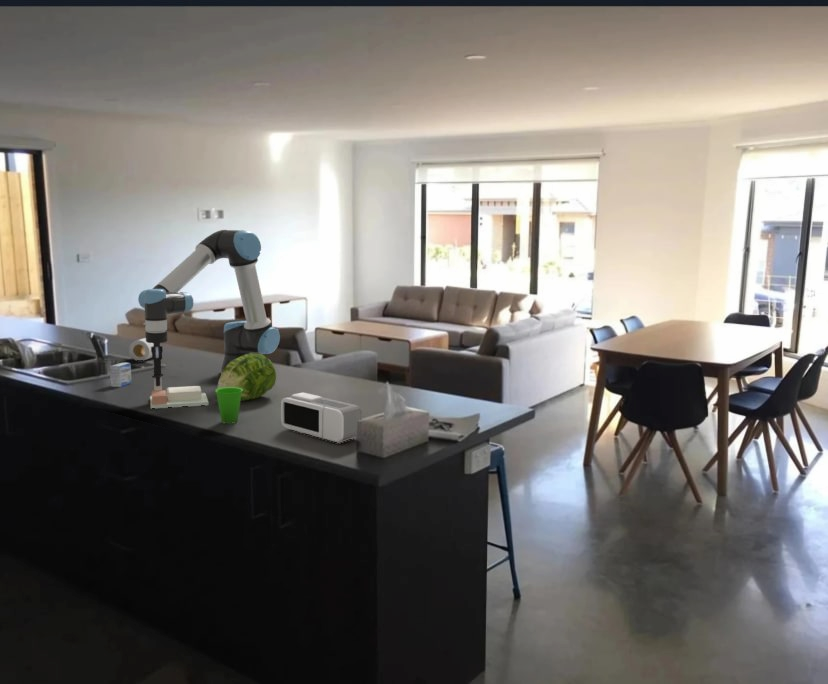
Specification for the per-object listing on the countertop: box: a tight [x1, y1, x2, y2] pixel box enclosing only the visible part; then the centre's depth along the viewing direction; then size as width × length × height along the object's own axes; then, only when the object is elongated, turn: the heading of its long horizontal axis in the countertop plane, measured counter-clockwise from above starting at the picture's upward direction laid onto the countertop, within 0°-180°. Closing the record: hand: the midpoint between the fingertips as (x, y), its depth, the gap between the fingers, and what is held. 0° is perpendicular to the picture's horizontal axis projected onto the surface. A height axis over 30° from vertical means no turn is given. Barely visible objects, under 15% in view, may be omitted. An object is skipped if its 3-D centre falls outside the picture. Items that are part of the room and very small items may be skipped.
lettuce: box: [217, 352, 277, 402], centre depth 277 cm, size 17×23×17 cm
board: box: [149, 392, 209, 409], centre depth 272 cm, size 20×15×1 cm
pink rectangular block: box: [151, 389, 167, 405], centre depth 267 cm, size 5×9×3 cm, turn 20°
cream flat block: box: [166, 385, 203, 401], centre depth 275 cm, size 12×9×3 cm
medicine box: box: [109, 362, 132, 388], centre depth 297 cm, size 8×4×9 cm, turn 168°
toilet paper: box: [128, 337, 154, 362], centre depth 352 cm, size 10×10×10 cm
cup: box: [214, 387, 243, 424], centre depth 247 cm, size 9×9×11 cm
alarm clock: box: [280, 391, 363, 442], centre depth 234 cm, size 27×9×12 cm, turn 52°
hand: (158, 394), depth 272 cm, fingers closed
